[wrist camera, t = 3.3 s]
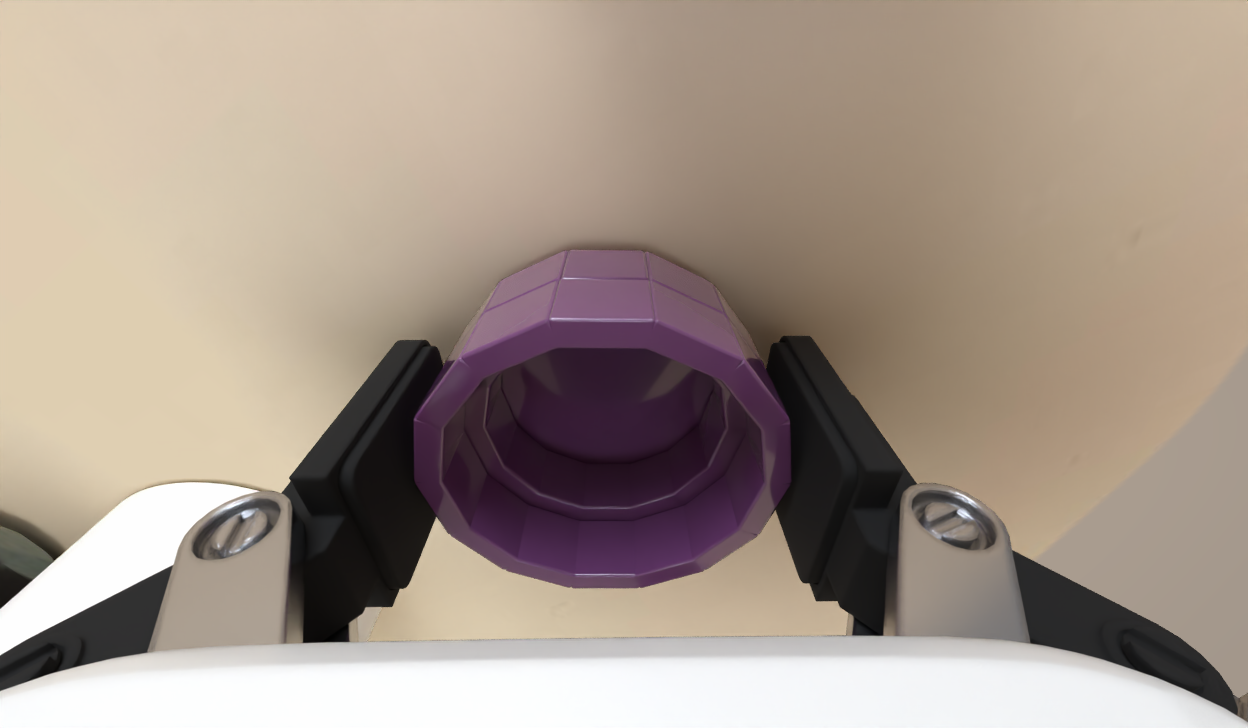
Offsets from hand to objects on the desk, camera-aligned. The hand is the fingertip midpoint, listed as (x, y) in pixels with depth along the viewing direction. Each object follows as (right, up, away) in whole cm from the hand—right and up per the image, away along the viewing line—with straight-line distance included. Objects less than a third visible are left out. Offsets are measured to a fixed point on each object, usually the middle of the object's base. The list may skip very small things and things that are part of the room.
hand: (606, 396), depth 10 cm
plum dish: (0, 0, +1) cm, 1 cm away
